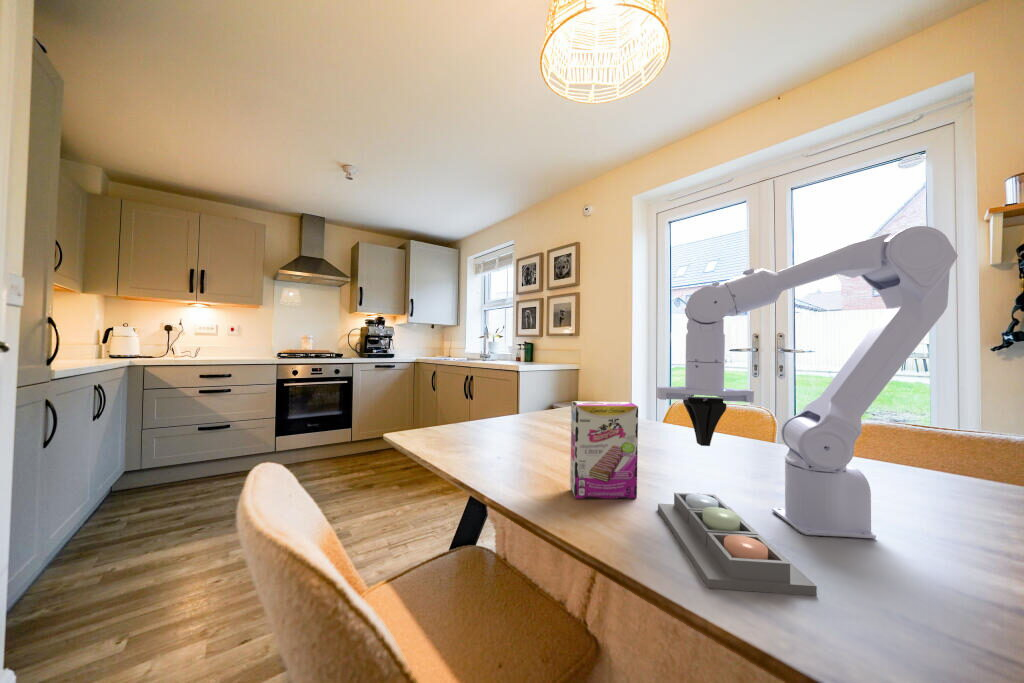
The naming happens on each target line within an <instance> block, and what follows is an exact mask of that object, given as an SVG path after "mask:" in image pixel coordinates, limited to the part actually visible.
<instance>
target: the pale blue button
mask: <svg viewBox="0 0 1024 683" xmlns="http://www.w3.org/2000/svg"><path fill="white" fill-rule="evenodd" d="M702 494H703V493H690V494H689V495H687V496H686V504H687V505H688V506H689V507H690V508H700V509H704V508H706V507H718V501H717V500H716V499H715V498H712V497H710V496H707V495H702Z"/></svg>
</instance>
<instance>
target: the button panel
mask: <svg viewBox="0 0 1024 683" xmlns="http://www.w3.org/2000/svg"><path fill="white" fill-rule="evenodd" d="M689 494H691V493H688V492H687V493H686V492H684V493H683V492H674V493H673V503H657V511H658V512H659V513H660V516H661V517H662V518H663V521H664V522H665V523H666V524H667V526H668V528H669V529H670V531H671V532H672V534H673V536H675V539H676V540H677V541H678V543H679V544H680V546H681V548H682V549H683V551H684V552H685V553H686V555H687V557H688V558H689V560H690V561H691V563H692V565H693V566H694V568H695V569H696V571H697V572H698V574H699V576H700V577H701V579H702V580H703V582H704V584H705V585H706V587H707V588H708V589H717V590H732V591H744V592H745V591H747V592H760V593H761V592H762V593H776V594H789V595H800V596H801V595H804V596H818V595H817V594H818V590H817V589H818V588H817V585H816V584H815V583H814V582H813V581H812V580H811V579H810V578H808V577H807V576H806V575H805V574H804V573H803V572H802V571H801V570H799V569H798V567H797V566H795V565H794V564H793V563H792V562H790V560H789V559H787V558H786V557H785V556H784V554H782V553H781V552H780V551H779V550H777V548H776V547H774V546H773V545H772V544H771V543H770V542H768V540H767V539H766V538H764V536H762V535H761V534H760V533H759V532H758V531H757V530H755V529H754V527H752V526H751V525H750V524H749V523H748V522H747V521H746V520H745V519H743V518H742V517H741V516H740V531H726V530H708V528H707V527H706V526H705V525H704V524H703V509H700V508H690V507H689V506H688V505H687V504H686V496H687V495H689ZM701 494H702V495H707V496H710V497H712V498H715V499H716V500H717V501H718V507H719V508H724V509H728V510H731V511H733V512H735V513H737V512H736V511H734V510H733V508H731V506H728V505H727V504H726V503H724V502H723V501H722V500H721V499H720V498H719V497H718V496H717V495H716V494H711V493H708V494H707V493H701ZM729 535H741V536H746V537H750V538H753V539H755V540H758V541H760V542H761V543H763V544H764V545H765V546H766V547H767V548H768V560H762V559H745V558H732V557H731V555H730V554H729V553H728V552H727V551H726V550H725V548H724V538H725V537H726V536H729Z"/></svg>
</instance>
